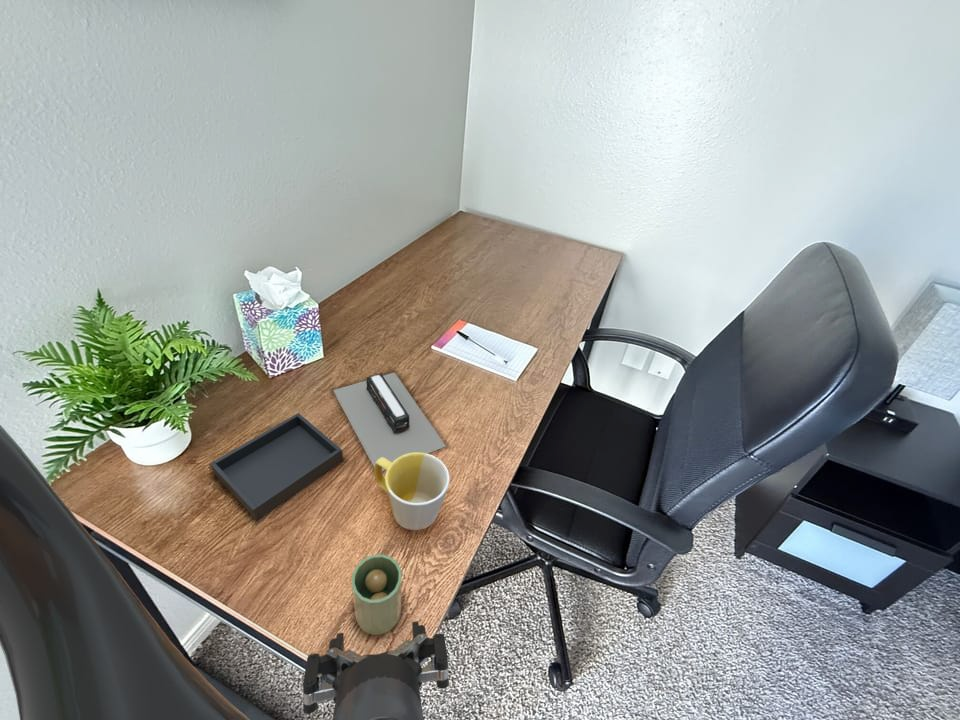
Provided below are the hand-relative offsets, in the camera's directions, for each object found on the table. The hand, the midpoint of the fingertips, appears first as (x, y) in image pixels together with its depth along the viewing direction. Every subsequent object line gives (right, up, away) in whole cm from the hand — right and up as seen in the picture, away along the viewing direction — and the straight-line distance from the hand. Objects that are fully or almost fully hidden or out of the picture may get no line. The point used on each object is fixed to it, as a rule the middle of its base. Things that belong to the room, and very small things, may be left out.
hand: (378, 635), depth 54 cm
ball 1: (-2, +2, +10) cm, 10 cm away
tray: (-24, +13, +30) cm, 41 cm away
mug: (0, +6, +27) cm, 27 cm away
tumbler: (-3, -4, +13) cm, 14 cm away
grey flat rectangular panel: (-8, +20, +43) cm, 48 cm away
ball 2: (-2, -1, +9) cm, 9 cm away
